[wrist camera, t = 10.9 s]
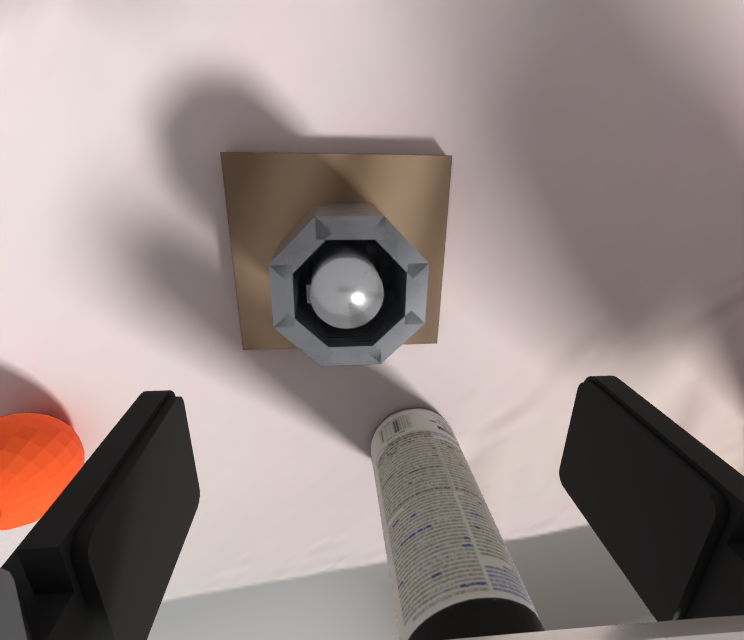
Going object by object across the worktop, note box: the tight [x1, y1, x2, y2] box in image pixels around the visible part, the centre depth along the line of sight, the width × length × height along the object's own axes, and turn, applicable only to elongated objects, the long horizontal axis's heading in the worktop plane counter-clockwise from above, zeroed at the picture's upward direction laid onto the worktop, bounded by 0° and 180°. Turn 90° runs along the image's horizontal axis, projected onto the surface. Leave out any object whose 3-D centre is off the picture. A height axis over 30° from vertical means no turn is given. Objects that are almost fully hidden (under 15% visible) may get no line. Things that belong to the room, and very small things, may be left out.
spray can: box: [371, 408, 545, 640], centre depth 24 cm, size 7×7×20 cm
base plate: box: [221, 152, 452, 350], centre depth 26 cm, size 13×12×1 cm
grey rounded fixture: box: [299, 240, 391, 329], centre depth 22 cm, size 7×7×7 cm
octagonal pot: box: [269, 203, 429, 366], centre depth 21 cm, size 7×7×5 cm
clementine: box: [0, 413, 84, 530], centre depth 26 cm, size 8×7×7 cm
